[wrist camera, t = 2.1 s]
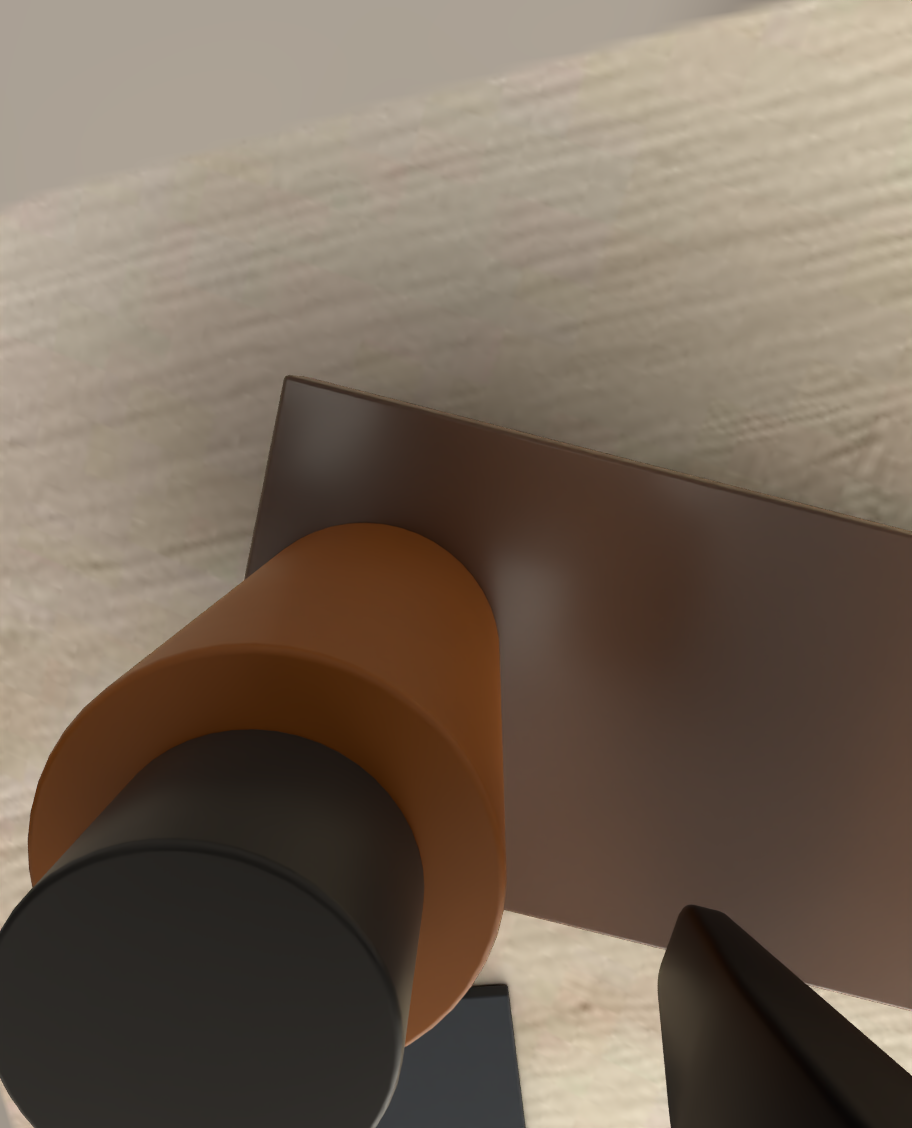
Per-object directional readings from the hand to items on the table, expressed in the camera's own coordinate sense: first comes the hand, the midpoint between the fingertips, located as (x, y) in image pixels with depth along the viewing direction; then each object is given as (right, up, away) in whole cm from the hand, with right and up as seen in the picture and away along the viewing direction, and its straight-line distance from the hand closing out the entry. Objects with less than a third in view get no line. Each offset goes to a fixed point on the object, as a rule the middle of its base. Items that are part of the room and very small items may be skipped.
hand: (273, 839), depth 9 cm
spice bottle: (0, +1, +6) cm, 6 cm away
